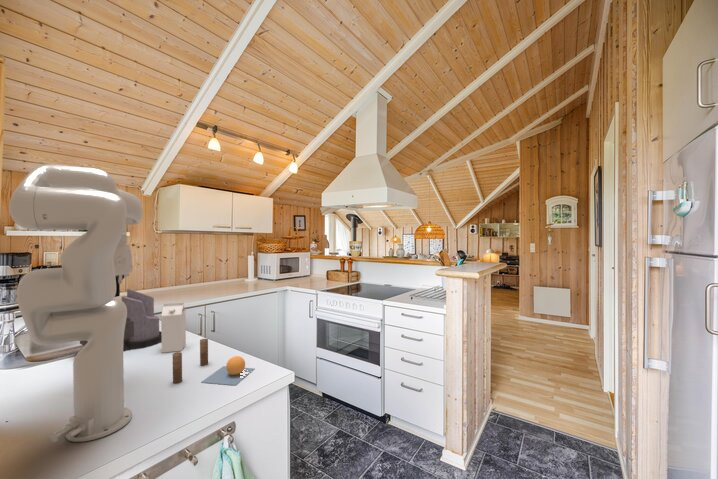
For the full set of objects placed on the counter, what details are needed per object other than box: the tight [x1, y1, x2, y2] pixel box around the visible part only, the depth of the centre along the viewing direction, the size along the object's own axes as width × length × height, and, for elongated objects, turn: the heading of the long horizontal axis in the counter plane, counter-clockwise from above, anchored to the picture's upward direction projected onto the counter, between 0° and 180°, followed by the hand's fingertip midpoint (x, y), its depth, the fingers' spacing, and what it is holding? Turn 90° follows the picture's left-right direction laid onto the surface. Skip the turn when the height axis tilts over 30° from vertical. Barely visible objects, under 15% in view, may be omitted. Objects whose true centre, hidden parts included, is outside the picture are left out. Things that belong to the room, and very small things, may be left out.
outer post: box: [199, 338, 209, 367], centre depth 113 cm, size 3×3×9 cm
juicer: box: [74, 288, 162, 356], centre depth 130 cm, size 30×16×24 cm, turn 143°
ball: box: [225, 355, 246, 375], centre depth 105 cm, size 6×6×6 cm
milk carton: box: [160, 302, 187, 354], centre depth 127 cm, size 7×7×19 cm
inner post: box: [172, 351, 183, 384], centre depth 100 cm, size 3×3×9 cm
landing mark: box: [201, 365, 256, 386], centre depth 104 cm, size 12×12×1 cm
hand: (113, 296), depth 101 cm, fingers closed
